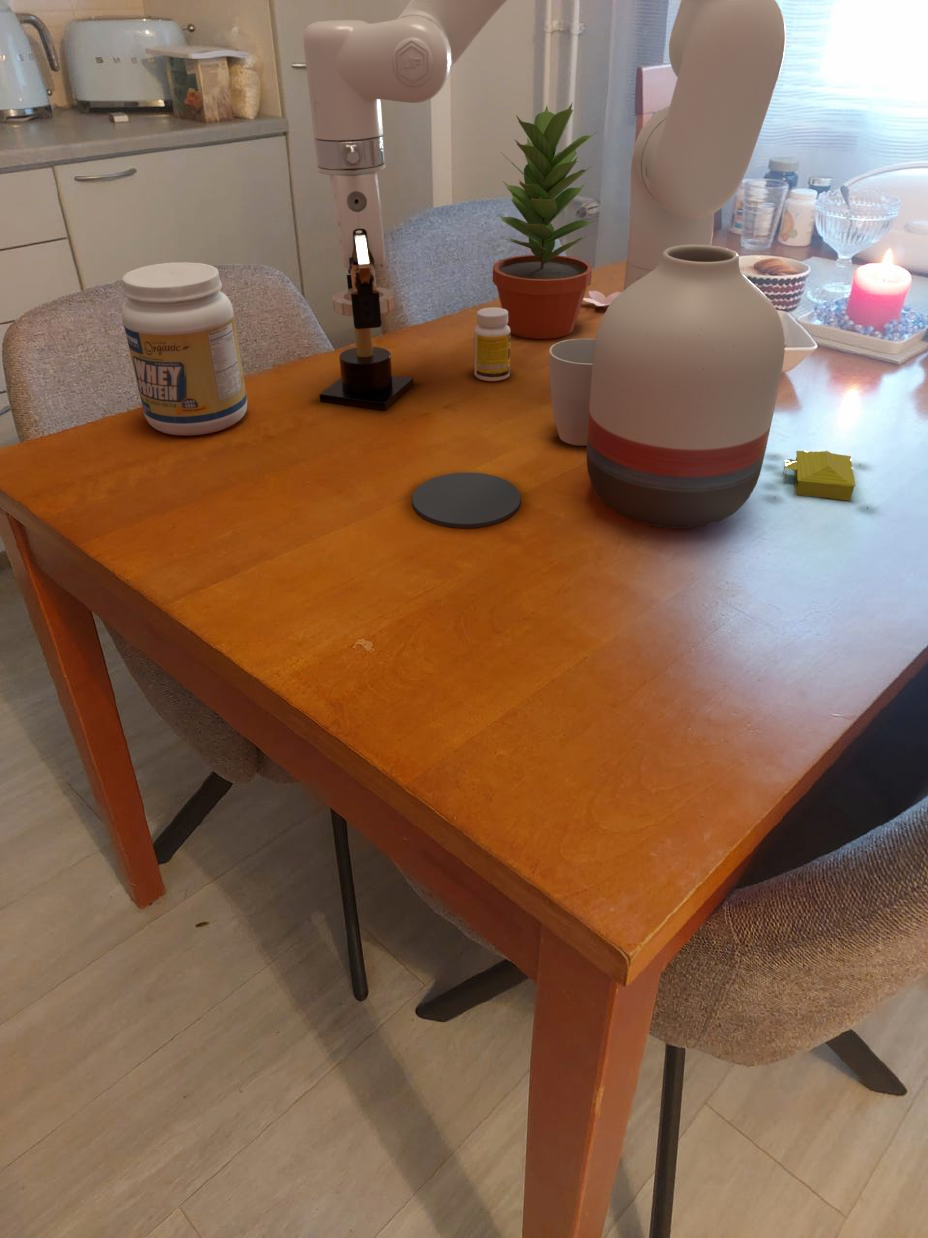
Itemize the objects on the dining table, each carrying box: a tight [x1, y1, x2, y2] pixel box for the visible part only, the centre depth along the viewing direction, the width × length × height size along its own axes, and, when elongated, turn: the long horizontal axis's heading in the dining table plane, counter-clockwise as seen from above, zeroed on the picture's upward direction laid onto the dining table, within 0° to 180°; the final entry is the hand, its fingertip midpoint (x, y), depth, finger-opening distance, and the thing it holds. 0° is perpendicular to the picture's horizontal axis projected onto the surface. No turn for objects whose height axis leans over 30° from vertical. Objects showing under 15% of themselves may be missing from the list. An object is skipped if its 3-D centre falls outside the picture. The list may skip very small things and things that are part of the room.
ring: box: [331, 286, 397, 317], centre depth 107 cm, size 7×7×1 cm
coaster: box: [411, 472, 522, 529], centre depth 90 cm, size 11×11×1 cm
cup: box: [549, 338, 596, 447], centre depth 100 cm, size 8×8×10 cm
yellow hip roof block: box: [773, 449, 869, 510], centre depth 92 cm, size 10×9×3 cm
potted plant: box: [492, 102, 599, 340], centre depth 126 cm, size 15×15×30 cm
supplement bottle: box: [473, 306, 512, 382], centre depth 116 cm, size 5×5×8 cm
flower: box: [583, 289, 623, 307], centre depth 143 cm, size 10×10×2 cm
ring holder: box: [319, 327, 415, 411], centre depth 111 cm, size 9×9×9 cm
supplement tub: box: [121, 261, 248, 437], centre depth 103 cm, size 12×12×17 cm
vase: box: [586, 245, 786, 529], centre depth 83 cm, size 17×17×24 cm
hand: (365, 316), depth 108 cm, fingers closed on ring, 7 cm apart
